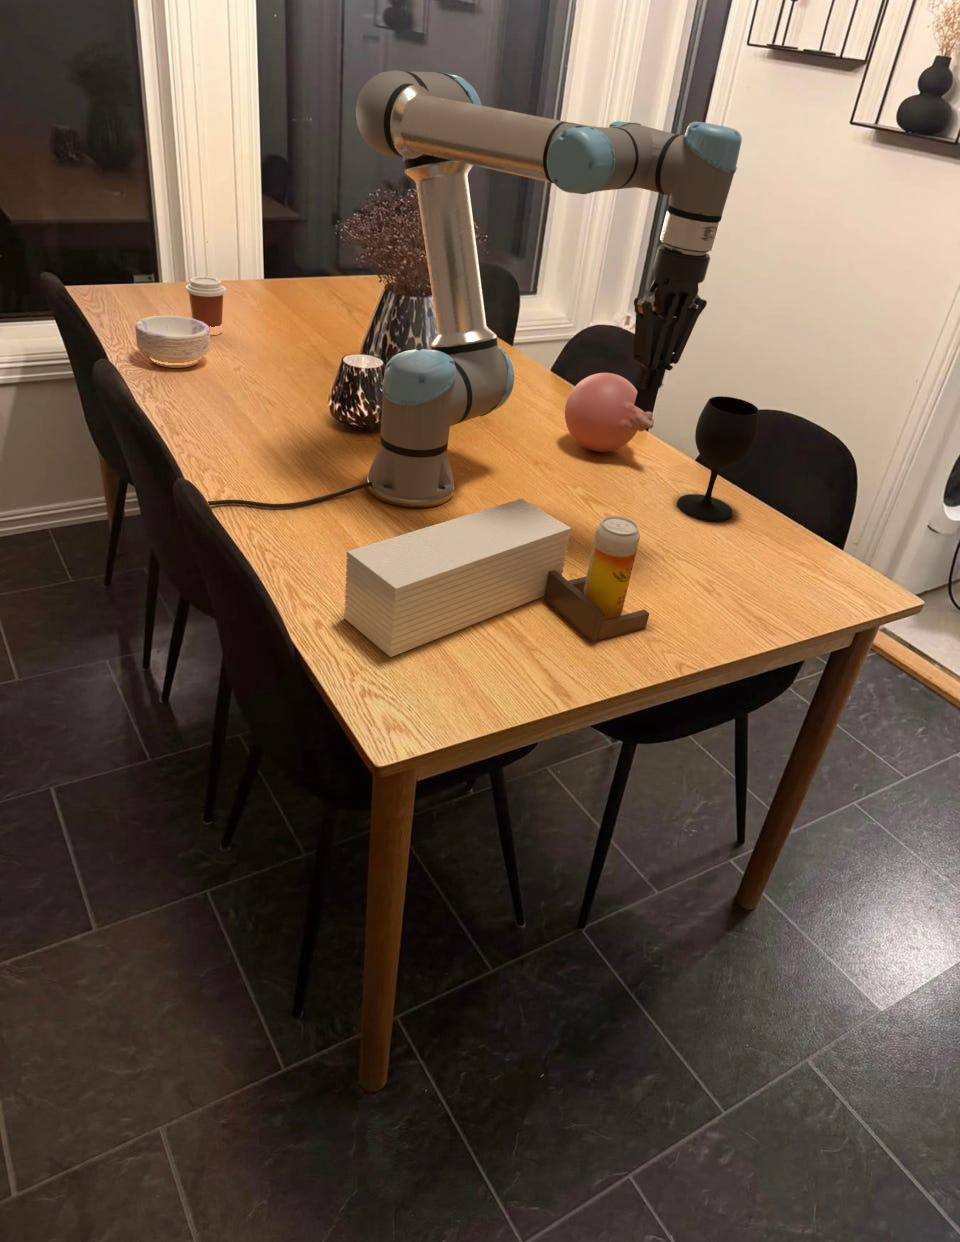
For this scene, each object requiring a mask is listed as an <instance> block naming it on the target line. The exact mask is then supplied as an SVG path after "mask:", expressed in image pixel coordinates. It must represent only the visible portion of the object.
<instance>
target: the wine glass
mask: <svg viewBox="0 0 960 1242" xmlns="http://www.w3.org/2000/svg"><path fill="white" fill-rule="evenodd" d="M759 412H760V411H759V408H758V407H757V406H756V405H755V404H754V403H751V402H750V401H747V400H744V399H742V398H737V397H732V396H722V395H721V396H712V397H710V398H709V399H708V400H707V402H706V403H705V405H704V407H703V409H702V410H701V412H700V414H699V417H698V421H697V422H696V427H695V431H694V432H695V434H694V435H695V436H694V440H695V446H696V449H697V451H698V453H699V455H700V457H701V458H702V460H703V462H705V464H707V466H709V468H710V477H709V481H708V484H707V488H706V491H705V493H704V494H698V493H697V494H696V493H692V494H691V493H690V494H689V493H688V494H685V495H682V496H680V497H679V498H678V499H677V501H676V506H677V508H678V509H679V510H680V511H681V512H682V513H683V514H685V515H687V516H688V517H691V518H693V519H696V520H699V521H703V522H710V523H721V522H726V521H728V520H730V519H732V517H733V515H734V511H733V509H732V508H731V506H730V505H729V504H728V503H726V502H724V501H722V500H721V499H719V498H716V497H713V496H712V495H713V491H714V487H715V483H716V480H717V477H718V475H719V473H720V471H722V470H724V469H728V468H730V467H733V466H735V465H736V464H738V463H739V462H741V461H742V460H744V459H745V458H746V456H748V454H749V453H750V452H751V450H752V448H753V447H754V445H755V442H756V439H757V436H758V431H759V421H760V420H759V417H760V416H759V414H760V413H759Z"/></svg>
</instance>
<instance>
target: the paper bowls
mask: <svg viewBox="0 0 960 1242" xmlns="http://www.w3.org/2000/svg"><path fill="white" fill-rule="evenodd" d="M135 338H136V346H137V348H138V350H139V351H140V352H142V353H144V354H146V355H147V357H148V356H149V357H151V358H153V359H155V360H158V361H161V362H168V363H184V362H190V361H194V360H197V359H199V358H200V357H201V358H202V357H203V356H206V355H207V354H208V353H209V352H210V350H211V336H210V329H209V327H208V326H207V325H206V324H205V323H203V322H201V321H199V320H196V319H192V317H187V316H180V315H153V316H152V315H151V316H148V317H144V318H140V319H139V320H138V321H136V323H135ZM149 357H148V359H149V360H150V361H151V362H152V363H153V364H155V365H157V366H160V367H164V368H170V369H183V368H189V367H192V366H193V367H194V366H195V365H197V364H198V363H199V362H200V360H199V361H197V362H195V363H192V364H187V365H165V364H160V363H157V362H154V361H152V360H151V359H150V358H149ZM201 358H200V359H201Z"/></svg>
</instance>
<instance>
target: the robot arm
mask: <svg viewBox="0 0 960 1242" xmlns="http://www.w3.org/2000/svg"><path fill="white" fill-rule="evenodd" d="M481 101H482V100H481V99H480V96H479V95H478V92H477V91H476V89H475V88H474V87H473V86H472V85H471V83H469V82H468V81H467V80H465V78H463V77H461V76H459V75H456V74H450V73H447V72H444V71H409V70H408V71H405V70H397V69H396V70H395V69H394V70H387V71H382V72H379V73H378V74H376V75H373V76H372V78H371V77H370V79H369V80H368V81H367V82H365V84H364V86H363V87H362V89H361V90H360V91H359V94H358V97H357V100H356V106H355V119H356V125H357V128H358V130H359V133H360V134H361V136H362V138H363V140H364V141H365V143H366V144H367V145H368V146H369V147H370V148H371V149H373V150H374V151H376V152H377V153H379V154H381V155H383V156H388V157H401V158H402V163H403V168H404V173H405V174H406V175H407V176H408V177H409V178H411V179H412V180H413V181H414V183H415V187H416V193H417V194H416V195H417V200H418V208H419V215H420V221H421V222H420V223H421V228H422V235H423V240H424V247H425V255H426V262H427V269H428V274H429V275H428V276H429V283H430V289H431V296H432V303H433V308H434V309H433V310H434V316H435V324H436V330H437V333H436V336H435V337H434V338H433V340H432V342H431V343H430V349H429V348H422V349H420V350H418V349H416V348H415V349H409V350H405V351H402V352H399V353H397V354H395V355H394V356H392V357H391V358H390V359H389V360H388V362H386V365H385V367H384V375H383V379H382V382H381V383H382V384H381V390H382V395H381V413H380V414H381V417H380V435H379V436H380V438H379V446H378V449H377V451H376V453H375V456H374V457H373V460H372V463H371V465H370V468H369V470H368V474H367V479H366V480H367V481H366V482H365V483H362V484H359V485H355V486H352V487H349V488H345V489H343V490H340V491H337V492H334V493H329V494H326V495H322V496H318V497H315V498H311V499H306V500H302V501H301V500H300V501H296V502H286V503H269V502H268V503H267V502H261V501H260V502H259V501H253V500H244V499H219V500H207V501H208V503H209V506H220V505H245V506H252V507H259V508H266V509H267V508H268V509H285V508H286V509H287V508H296V507H302V506H307V505H312V504H315V503H320V502H323V501H327V500H330V499H334V498H338V497H341V496H343V495H346V494H350V493H352V492H355V491H360V490H362V489H365V488H367V490H368V492H369V493H370V494H371V495H372V496H373V497H374V498H376V499H378V500H380V501H381V502H384V503H386V504H389V505H392V506H397V507H400V508H401V507H402V508H409V509H410V508H411V509H426V508H433V507H437V506H440V505H443V504H445V503H447V502H448V501H449V500H450V499H451V498H452V497H453V495H454V490H455V478H454V474H453V471H452V466H451V462H450V458H449V453H448V449H449V447H448V445H449V438H450V437H449V436H450V429H451V427H453V426H455V425H458V424H461V423H463V422H466V421H470V420H472V419H475V418H478V417H484V416H487V415H489V414H491V413H492V412H493V411H496V410H498V409H499V408H501V407H502V406H503V405H504V404H505V403H506V402H507V401H508V399H509V398H510V396H511V395H512V391H513V390H514V389H513V388H514V385H515V369H514V364H513V361H512V359H511V357H510V356H509V355H507V354H506V351H505V350H504V348H503V347H501V346H500V345H499V344H498V340H497V339H498V335H497V334H496V333H495V332H494V331H492V330H491V329H490V327H488V326H487V319H486V312H485V303H484V295H483V289H482V279H481V272H480V265H479V255H478V248H477V241H476V240H477V239H476V231H475V224H474V217H473V209H472V201H471V194H470V186H469V172H470V171H471V170H472V169H473V167H474V166H475V167H479V168H484V169H488V170H493V171H498V172H502V173H506V174H510V175H511V174H512V175H514V176H515V175H516V176H521V177H524V178H529V179H533V180H538V181H541V182H547V183H550V184H554V185H555V186H556V187H557V188H558V189H559V190H561V191H563V192H565V193H571V194H579V195H588V194H592V193H595V192H596V193H597V192H604V191H605V192H606V191H615V190H616V191H617V190H623V189H636V188H637V189H642V190H646V191H650V192H654V193H659V194H661V195H664V196H669V199H668V205H667V209H666V212H665V217H664V220H663V225H662V229H661V233H660V236H659V241H660V242H661V243H662V244H660V245H659V246H658V247H657V249H656V253H655V257H654V262H653V264H652V272H653V274H654V280H653V282H652V283H651V285H650V286H649V291H648V293H647V294H645V296H643V297H639V296H636V297H635V298H634V299H633V306H634V310H635V323H634V325H635V326H634V338H633V354H632V361H634V362H635V363H637V364H639V365H641V366H640V367H641V368H640V372H639V377H638V379H637V387H638V389H637V396H636V400H635V404H634V405H635V406H636V407H638V408H640V409H641V410H643V411H644V412H654V408H655V404H656V400H657V397H658V393H659V390H660V389H661V387H662V384H663V381H664V378H665V374H666V371H669V372H670V371H672V370H673V369H674V366H672V364H673V365H677V364H678V363H679V361H680V360H681V357H682V356H683V352H684V351H685V348H686V345H688V344H687V343H688V341H689V339H690V337H691V334H692V332H693V330H694V328H695V325H696V323H697V321H698V319H699V317H700V315H701V314H702V313H703V311H704V309H705V308H706V307H707V305H708V302H707V299H704V298H701V297H700V295H699V291H700V290H699V284H701V283H703V282H704V281H705V280H706V276H707V272H708V269H709V265H710V263H711V257H710V254H709V253H710V252H711V251H713V249H714V246H715V242H716V238H717V234H718V230H719V227H720V225H721V224H720V223H721V221H722V219H723V213H724V210H725V206H726V203H727V199H728V197H729V193H730V189H731V186H732V182H733V179H734V176H735V174H736V171H737V169H738V168H737V165H738V160H739V155H740V150H741V146H742V141H743V139H742V134H741V133H740V132H739V130H738V129H735V128H732V127H730V126H729V127H728V126H724V125H720V124H714V123H709V122H703V121H692V122H690V123H689V124H688V126H687V128H686V129H685V133H684V134H678V133H677V134H676V133H672V132H668V131H665V130H661V129H658V128H654V127H649V126H646V125H642V124H641V123H637V122H630V121H629V122H628V121H620V120H616V121H613V122H611V123H609V126H607V127H605V126H603V127H602V126H592V125H588V124H587V125H586V124H581V123H577V122H570V121H565V120H559V119H554V118H548V117H544V116H538V115H534V114H528V113H523V112H517V111H512V110H507V109H502V108H496V107H492V106H487V105H483V104H482V102H481ZM178 519H179V520H181V519H180V516H179V517H178Z"/></svg>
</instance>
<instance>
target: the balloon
mask: <svg viewBox="0 0 960 1242" xmlns="http://www.w3.org/2000/svg"><path fill="white" fill-rule="evenodd" d="M637 392H638V389H636V387H635V386H634V384H632V383H631V382H630V381H629V380H628V379H626V378H625V377H623V376H621V375H619V374H616V373H611V372H598V373H594V374H591V375H588V376H586V377H584V378H583V379H581V380H580V381H579V382H578V383H577V384H576V385H575V386H574V387H573V389H572V390H571V391H570V393H569V395H568V397H567V399H566V403H565V407H564V420H565V424H566V427H567V430H568V432H569V434H570V436H571V437H572V438H573V439H574V441H576V443H578V444H579V445H580V446H581V447H583V448H585V449H588V450H590V451H593V452H598V453H605V452H612V451H616V450H618V449H621V448H622V447H625V445H627V444H628V443H630V442H631V441H632V440H633V438H634V437H635V435H636V434H637V432H645V431H646V430H647V429H653V428H654V423H655V421H654V419H653V412H652V411H650V412H645V411H643V410H641V409H640V408H638V407H636V406H635V405H634V404H635V400H636V396H637Z"/></svg>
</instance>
